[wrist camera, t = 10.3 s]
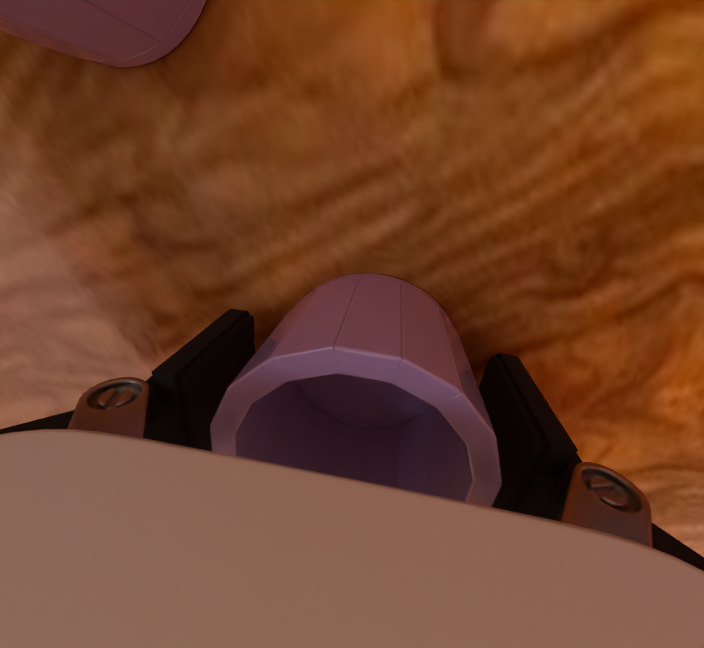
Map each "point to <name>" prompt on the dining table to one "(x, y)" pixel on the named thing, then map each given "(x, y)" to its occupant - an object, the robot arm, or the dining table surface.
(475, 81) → the dining table surface
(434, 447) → the cup
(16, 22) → the cup
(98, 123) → the dining table surface
